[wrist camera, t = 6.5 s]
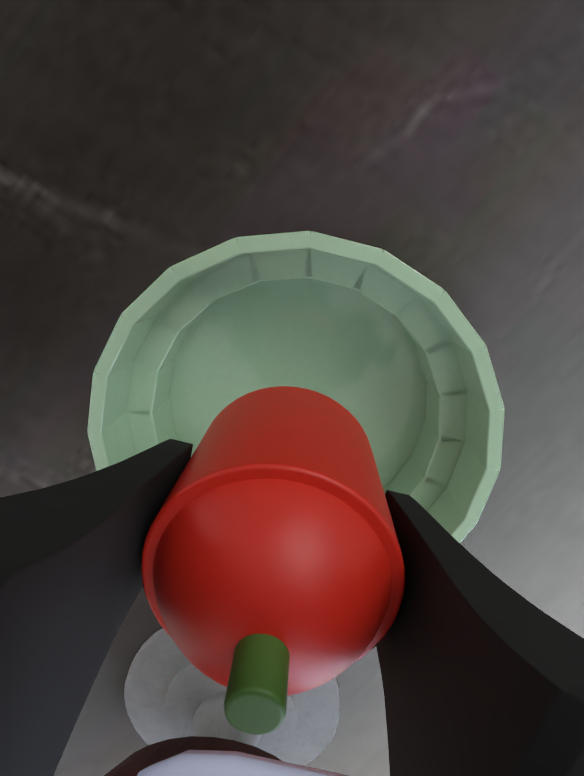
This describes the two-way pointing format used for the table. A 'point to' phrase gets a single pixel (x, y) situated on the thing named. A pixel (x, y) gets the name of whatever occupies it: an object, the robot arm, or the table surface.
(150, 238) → the table surface
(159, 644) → the mate gourd
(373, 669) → the table surface
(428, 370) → the bowl
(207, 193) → the table surface
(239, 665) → the pepper
